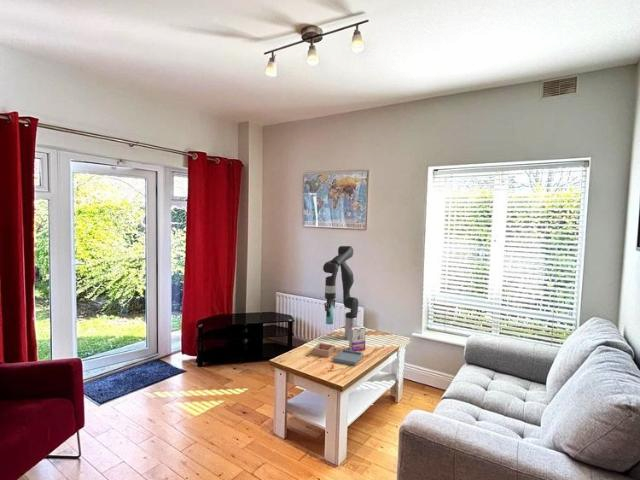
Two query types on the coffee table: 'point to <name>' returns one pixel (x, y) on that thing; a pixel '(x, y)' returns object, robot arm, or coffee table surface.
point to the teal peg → (330, 319)
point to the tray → (348, 357)
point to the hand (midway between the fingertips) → (329, 315)
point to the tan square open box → (324, 350)
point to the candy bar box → (357, 338)
